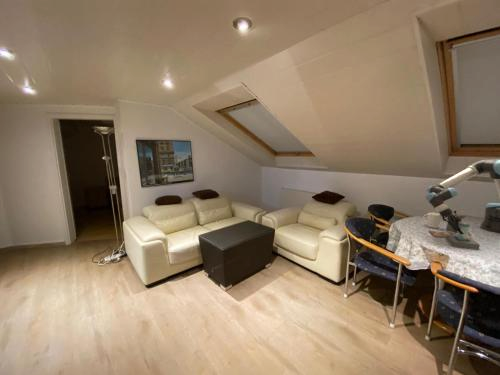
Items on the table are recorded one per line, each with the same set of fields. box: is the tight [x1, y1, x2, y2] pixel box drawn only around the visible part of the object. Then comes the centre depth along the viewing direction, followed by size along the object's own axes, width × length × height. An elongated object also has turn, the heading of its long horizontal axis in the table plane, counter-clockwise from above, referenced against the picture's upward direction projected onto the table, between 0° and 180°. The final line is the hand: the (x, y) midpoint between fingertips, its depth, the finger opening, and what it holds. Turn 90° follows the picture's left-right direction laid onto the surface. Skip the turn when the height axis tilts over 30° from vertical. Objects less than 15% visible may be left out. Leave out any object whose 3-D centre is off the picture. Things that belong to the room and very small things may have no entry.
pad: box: [428, 230, 456, 239], centre depth 175 cm, size 16×12×1 cm
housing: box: [445, 234, 481, 251], centre depth 158 cm, size 14×14×4 cm
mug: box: [422, 212, 441, 229], centre depth 195 cm, size 12×8×12 cm
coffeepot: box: [441, 210, 466, 234], centre depth 182 cm, size 15×9×18 cm, turn 34°
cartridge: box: [456, 221, 471, 241], centre depth 157 cm, size 6×6×17 cm
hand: (469, 237), depth 154 cm, fingers closed on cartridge, 6 cm apart
